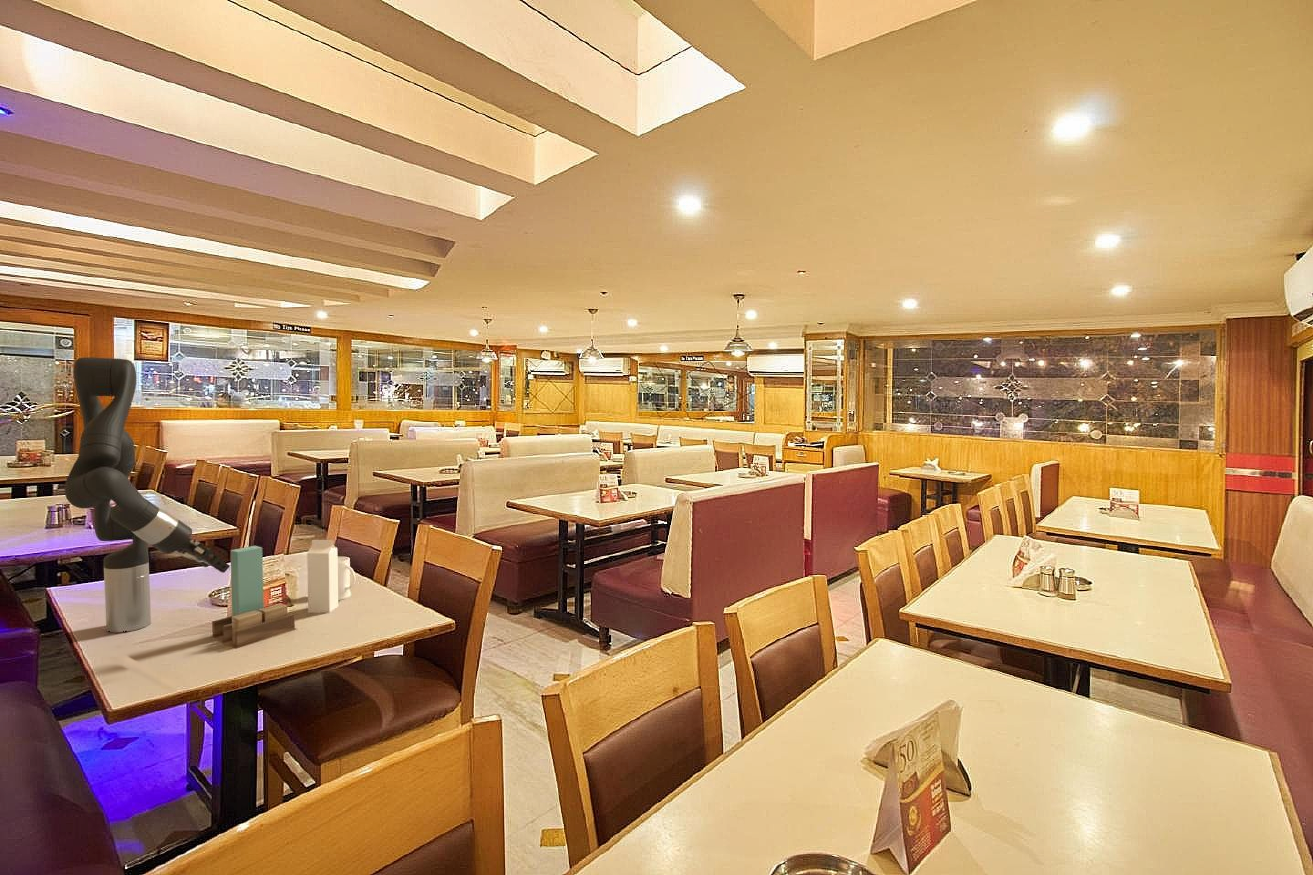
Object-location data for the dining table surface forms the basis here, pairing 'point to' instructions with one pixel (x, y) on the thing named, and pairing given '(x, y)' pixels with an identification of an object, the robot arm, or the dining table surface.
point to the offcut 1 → (245, 621)
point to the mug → (344, 578)
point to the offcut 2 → (273, 612)
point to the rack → (251, 631)
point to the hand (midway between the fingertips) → (217, 566)
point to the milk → (322, 576)
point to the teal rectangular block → (246, 580)
